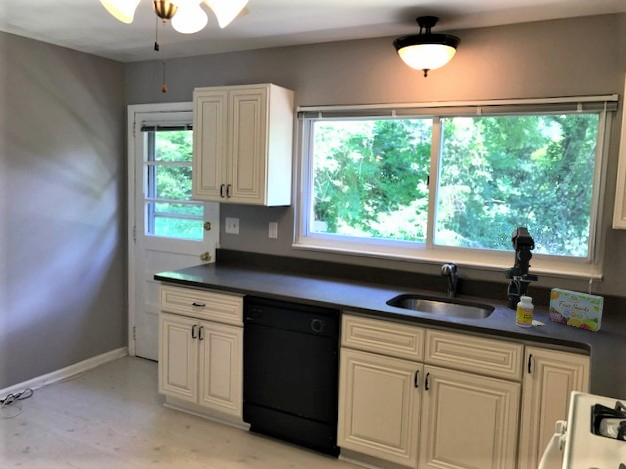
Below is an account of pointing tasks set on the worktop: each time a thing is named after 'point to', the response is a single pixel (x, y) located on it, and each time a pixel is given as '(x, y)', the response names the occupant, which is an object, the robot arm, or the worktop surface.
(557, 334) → the worktop surface
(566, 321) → the snack box
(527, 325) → the supplement bottle
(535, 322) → the cream tile
